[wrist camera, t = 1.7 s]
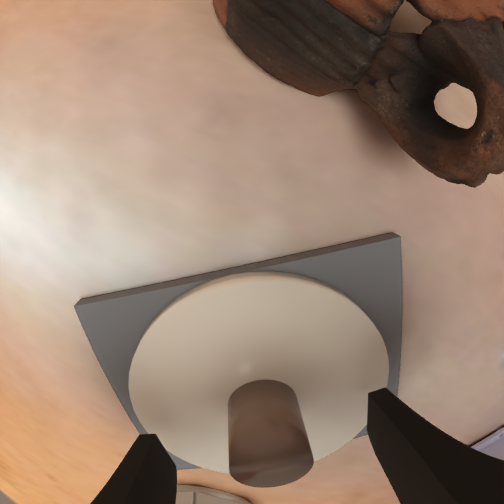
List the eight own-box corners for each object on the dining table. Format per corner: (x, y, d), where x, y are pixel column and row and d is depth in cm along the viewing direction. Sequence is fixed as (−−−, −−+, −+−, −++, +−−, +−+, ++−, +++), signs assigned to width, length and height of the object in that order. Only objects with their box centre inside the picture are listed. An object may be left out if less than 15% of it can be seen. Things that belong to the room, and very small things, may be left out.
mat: (392, 232, 11) (400, 236, 11) (389, 417, 14) (393, 425, 14) (79, 299, 11) (73, 306, 10) (165, 461, 14) (164, 470, 13)
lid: (375, 242, 11) (440, 286, 7) (375, 431, 14) (403, 489, 10) (95, 301, 11) (46, 366, 7) (182, 469, 14) (176, 532, 10)
